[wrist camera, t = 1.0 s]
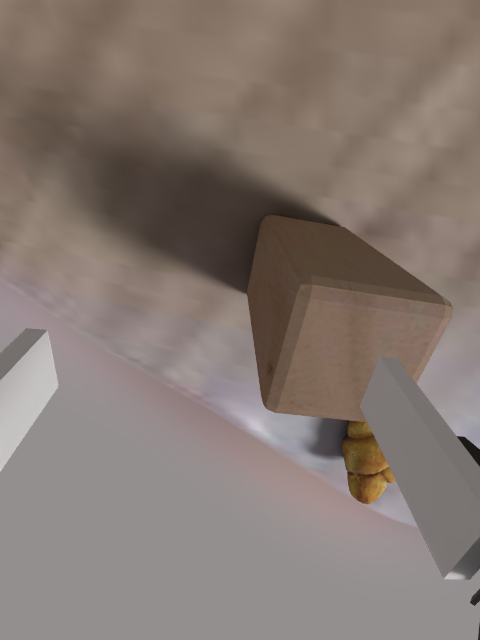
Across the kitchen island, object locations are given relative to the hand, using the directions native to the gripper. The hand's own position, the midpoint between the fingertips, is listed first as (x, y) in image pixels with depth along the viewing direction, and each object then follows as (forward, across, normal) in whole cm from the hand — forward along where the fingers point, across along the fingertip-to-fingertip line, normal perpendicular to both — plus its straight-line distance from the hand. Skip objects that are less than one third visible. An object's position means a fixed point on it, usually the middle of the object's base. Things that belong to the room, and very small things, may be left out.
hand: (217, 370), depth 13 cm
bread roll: (+25, +25, -30) cm, 47 cm away
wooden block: (+26, +8, -3) cm, 27 cm away
